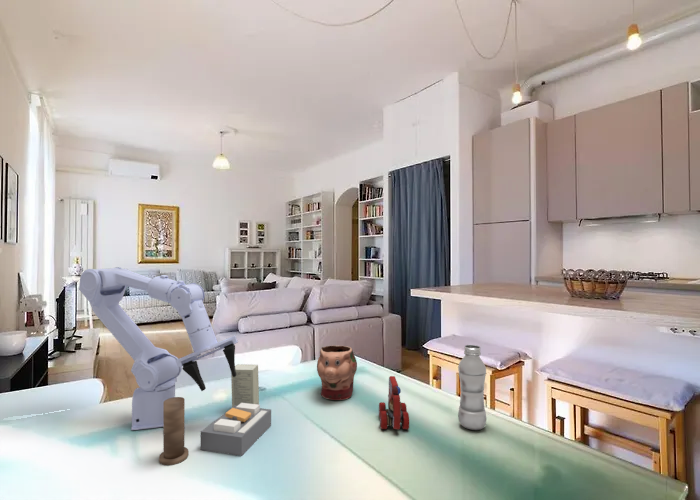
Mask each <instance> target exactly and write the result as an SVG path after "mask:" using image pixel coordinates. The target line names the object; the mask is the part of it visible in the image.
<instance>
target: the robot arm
mask: <svg viewBox="0 0 700 500" xmlns="http://www.w3.org/2000/svg"><path fill="white" fill-rule="evenodd" d="M79 277H80V278H79V284H78V285H79V286H78V290H79V292H80V293H81V294H82V295H83V296H84V297H85V298H86V300H87V301H88V302H89V304H90V306H91V309H92V311H93V313H94V315H95V316H96V317H97V318H98V320H100V322H101V323H102V324H103V325H104V326H105V328H106V329H107V330H108V331H109V333H111V335H112V336H113V337H114V338H115V339H116V340H117V342H118V343H119V345H121V346H122V348H123V349H124V351H125V352H126V353H127V354H128V355H129V356H130V357H131V358H132V360H133V364H132V367H131V370H130V372H131V373H132V374H133V376H134V377H135V381H136V384H137V386H138V387H136V388H135V389H134V391H133V394H132V400H131V431H137V430H147V429H155V428H163V402H164V401H165V400H167V399H169V398H173V397H176V382H178V381H177V379H178V377H179V376H180V375H181V372H182V370H183V371H184V372H185V373H186V374H187V375H189V376H190V377H191V379H192V380H193V381H194V382H195V383H196V385H197V387H198V388H199V389H200V391H201V392H204V391H205V390H206V384H205V383H204V380H203V378H202V375H201V372H200V369H199V365H198V361H197V360H199V359H201V358H204V357H207V356H210V355H211V354H214V353H217V352H218V351H221V350H222V352H223V354H224V357H225V359H226V361H227V363H228V366H229V369H230V374H232V376H233V377H235V376H236V375H237V374H236V370H235V366H236V364H235V363H236V362H235V357H236V356H235V354H236V353H235V352H236V345H235V344H238V343H239V341H238V340H239V339H238V338H237V335H232V336H230V337H228V338H226V339H223V340H221V341H218V339H217V337H216V336H217V335H216V334H215V331H214V329H213V325H212V323H211V320H210V317H209V315H208V312H207V309H206V307H205V305H204V299H205V296H206V295H205V294H206V293H205V290H204V288H203V287H202V286H201V285H200V284H197V283H196V282H191V283H188V284H186V283H185V281H184V280H181V279H180V280H174V279H171V278H169V275H166V274H162V275H158V276H155V277H148V276H146V275H143V274H140V273H138V272H135V271H132V270H130V269H128V268H122V267H120V266H119V267H118V266H116V267H112V268H111V267H110V268H96V269H94V268H88V269H85V270H84V271H82V273H81V275H80V276H79ZM127 287H129V288H133V289H136V290H140V291H146V293H147V295H148V296H149V298H152V299H155V300H159V301H161V302H165V303H168V304H170V306H171V307H172V308H173V309H175V310H176V311H177V313H178V315H179V316H180V318H181V319H182V322H183V324H184V328H185V330H186V334H187V336H188V339H189V342H190V344H191V346H192V349H193V352H191V353H189V354H187V355H184V356H182V357H180V358H178V357H177V356H175V354H171V353H170V352H169V351H168V350H167V349H165V348H161V347H157V346H155V344H153V342H152V341H151V340H150V339H149V338H148V336H147V335H146V334H145V333H144V332H143V331H142V330H141V329H140V327H139V326H138V325H137V324H136V323H135V322H134V321H133V319H132V318H131V317H130V315H129V314H128V313H127V312H126V311H125V310H124V309H123V307H121V305H120V302H121V301H122V300H123V298H124V294H125V292H126V289H127ZM212 349H214V350H212ZM211 350H212V351H211ZM207 351H209V352H207ZM205 352H207V353H205ZM203 353H204V354H203Z"/></svg>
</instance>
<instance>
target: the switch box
mask: <svg viewBox="0 0 700 500" xmlns="http://www.w3.org/2000/svg"><path fill="white" fill-rule="evenodd" d="M232 408H235V409H239V410H243V411H246V412H250V413H251V417H250V418H248V419H247V420H246V421H245V422H242V421H239V420H238V421H234V420H232V418H229V417H225V414H226V412H228V411H229V410H230V409H232ZM230 409H228V410H227V411H226V412H224V413H223V414H222V415H220V416H219V417H217V418H216V419H214V420H213V421H212V422H211V423H210V424H209V425H207V426H206V427H205V428H203V429H202V430H200V450H201V451H204V452H205V451H206V452H213V453H219V454H224V453H225V454H227V455H231V454H232V455H233V456H237V455H241V456H240V457H242V456H244V454H246V453H247V451H248V450H249V449H250V448H251V447H252V446H253V445H254V444H255V443H256V442H257V441H258V440H260V438H261V437H262V436H263V435H264V434H265V433H266V432H267V430H269V429H270V428H271V426H272V409H270V408H261V405H260V404H259V405H257V404H249V403H241V404H239V405H235V406H234V407H232V406H231V408H230ZM263 433H264V434H263ZM262 434H263V435H262ZM261 435H262V436H261ZM260 436H261V437H260ZM259 437H260V438H259ZM257 439H258V440H257ZM225 454H224V455H225Z"/></svg>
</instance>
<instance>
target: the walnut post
mask: <svg viewBox="0 0 700 500" xmlns="http://www.w3.org/2000/svg"><path fill="white" fill-rule="evenodd" d="M185 405H186V404H185V398H184V397H182V396H175V397H173V398H169V399H167V400H165V401H164V402H163V427H162V428H163V429H162V430H163V431H162V432H163V433H162V434H163V437H162V438H163V443H162V445H163V446H162V447H163V450H162V452H161V453H160V454H159V456H158V462H159V464H160V465H161V466H162V465H163V466H175V465H178V464H181V463H182V462H184V461H186V460H187V459H188V457H189V456H190V455H189V449H188V447H185V407H186V406H185Z"/></svg>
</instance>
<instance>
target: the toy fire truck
mask: <svg viewBox="0 0 700 500" xmlns="http://www.w3.org/2000/svg"><path fill="white" fill-rule="evenodd" d="M401 392H402V391H401V388H400V386H399V384H398V381H397V379H396V376H395V375H394V376H393V375H391V376H389V377H388V394H387V399H388V401H387V402H388V403H387V407H388V408H387V407H386V402H384V401H383V402H378V417H379V418H378V419H379V426H380V427H379V428H380V430H387V429H388V427H391V426H392V427H393V430H400V429H402V430H409V428H410V414H409V411H407V404H406V403H405V402H401V395H400V394H401Z"/></svg>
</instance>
